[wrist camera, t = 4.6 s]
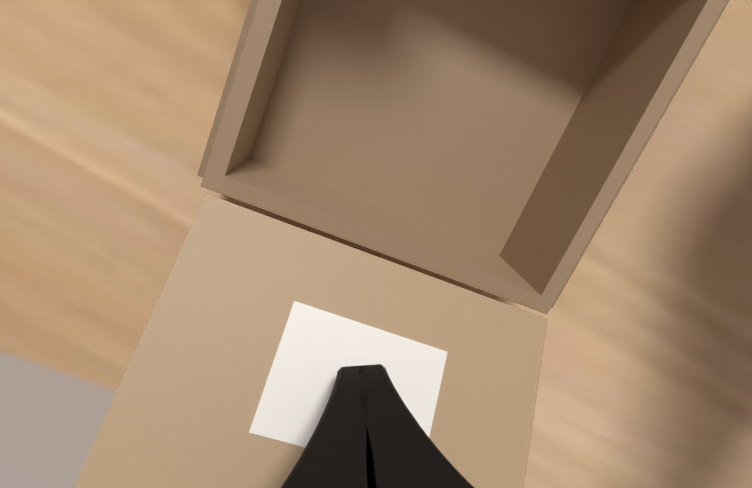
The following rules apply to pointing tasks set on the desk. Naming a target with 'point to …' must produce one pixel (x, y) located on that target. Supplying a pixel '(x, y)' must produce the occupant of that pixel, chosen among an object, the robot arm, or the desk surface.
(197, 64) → the desk surface
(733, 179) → the desk surface
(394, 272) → the carton flap
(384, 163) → the carton
